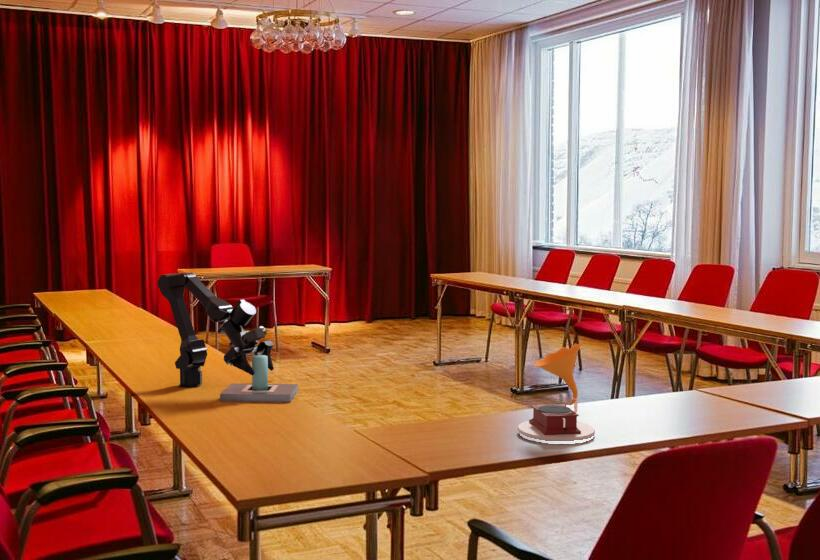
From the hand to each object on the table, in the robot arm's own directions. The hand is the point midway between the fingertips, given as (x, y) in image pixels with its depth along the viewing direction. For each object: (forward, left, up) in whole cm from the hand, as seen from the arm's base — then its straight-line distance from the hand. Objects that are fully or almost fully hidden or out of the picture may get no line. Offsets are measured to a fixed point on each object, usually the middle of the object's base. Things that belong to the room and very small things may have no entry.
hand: (263, 372), depth 289 cm
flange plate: (-1, +1, -8) cm, 8 cm away
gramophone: (+88, -42, -8) cm, 98 cm away
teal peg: (-1, +1, -8) cm, 8 cm away
